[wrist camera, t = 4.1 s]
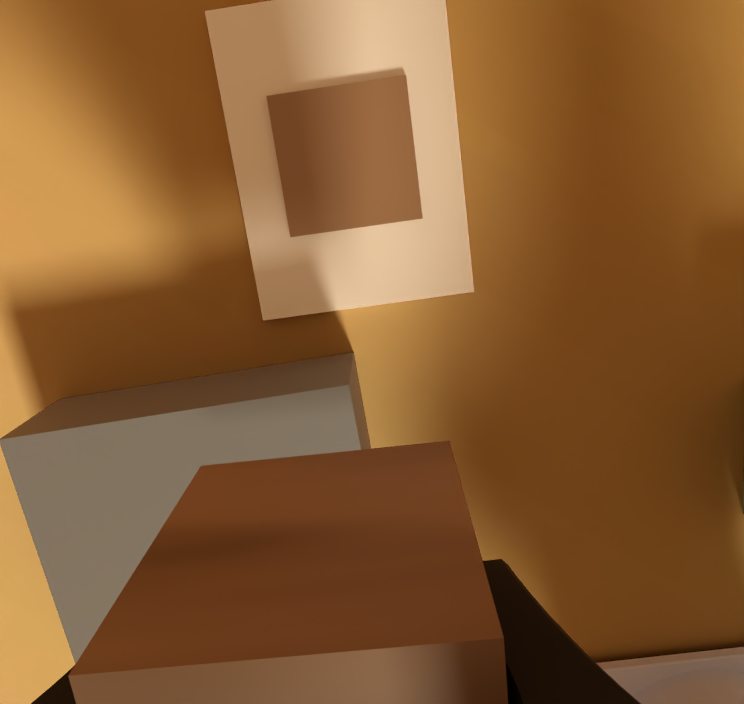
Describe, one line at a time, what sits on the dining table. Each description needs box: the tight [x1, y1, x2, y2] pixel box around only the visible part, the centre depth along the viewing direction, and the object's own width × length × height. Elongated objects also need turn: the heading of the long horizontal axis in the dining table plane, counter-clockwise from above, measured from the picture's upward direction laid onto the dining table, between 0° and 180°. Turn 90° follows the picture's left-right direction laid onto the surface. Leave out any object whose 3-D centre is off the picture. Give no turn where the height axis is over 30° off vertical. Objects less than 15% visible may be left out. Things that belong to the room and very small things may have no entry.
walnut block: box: [68, 441, 508, 704], centre depth 9 cm, size 4×4×5 cm
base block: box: [0, 352, 371, 663], centre depth 18 cm, size 9×9×4 cm
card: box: [205, 0, 474, 321], centre depth 17 cm, size 8×6×1 cm
